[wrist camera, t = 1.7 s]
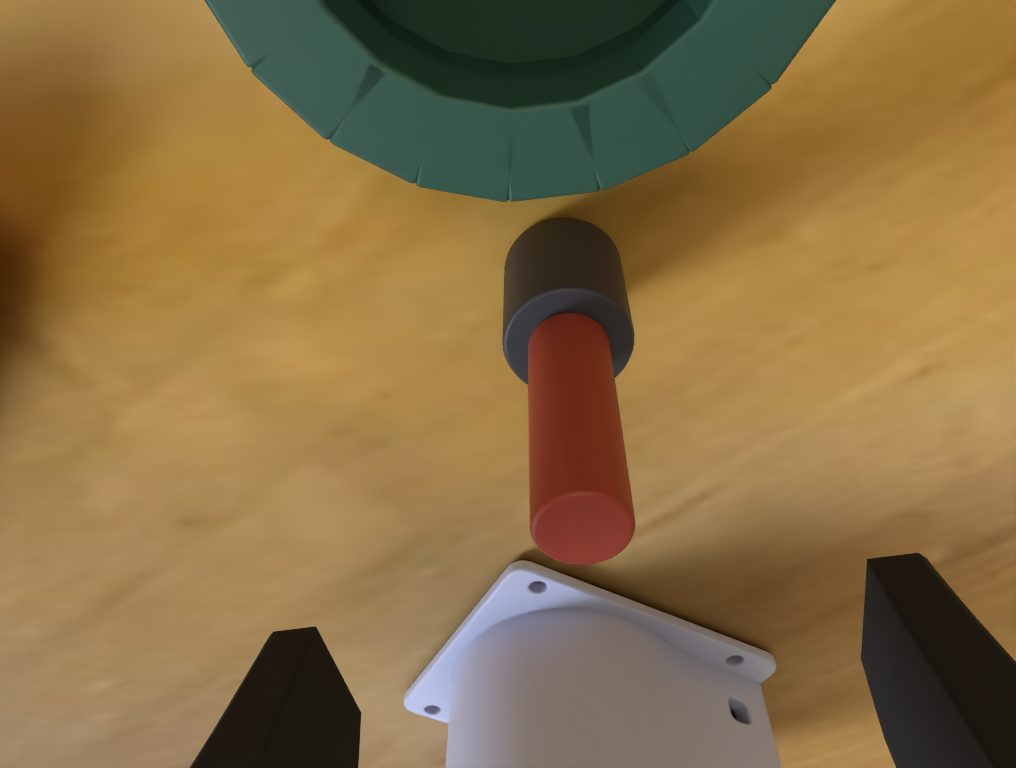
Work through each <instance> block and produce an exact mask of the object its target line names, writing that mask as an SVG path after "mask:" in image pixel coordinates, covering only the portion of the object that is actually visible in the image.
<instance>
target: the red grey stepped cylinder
mask: <svg viewBox="0 0 1016 768" xmlns="http://www.w3.org/2000/svg"><path fill="white" fill-rule="evenodd" d="M633 346H634V330H633V324H632V319H631V314H630V308H629V303H628V298H627V292H626V287H625V282H624V276H623V271H622V265H621V260H620V256H619V253H618V250H617V248H616V246H615V244H614V243H613V241H612V240H611V239H610V238H609V237H608V236H607V234H606V233H604V232H603V231H602V230H601V229H599V228H597V227H596V226H594V225H592V224H590V223H587V222H585V221H581V220H577V219H570V218H560V219H552V220H547V221H544V222H541V223H539V224H537V225H535V226H533V227H531V228H530V229H528V230H527V231H525V232H524V233H523V234H522V235H521V236H520V237H519V238H518V239H517V240H516V241H515V242H514V244H513V245H512V247H511V249H510V251H509V253H508V255H507V258H506V262H505V274H504V309H503V351H504V355H505V358H506V360H507V362H508V364H509V366H510V367H511V369H512V370H513V371H514V373H515V374H516V375H517V376H518V377H519V378H520V379H521V380H522V381H524V382H525V383H526V384H528V401H529V483H530V532H531V535H532V538H533V540H534V542H535V543H536V545H537V546H538V548H539V549H540V550H541V551H542V552H543V553H545V554H546V555H547V556H549V557H551V558H553V559H555V560H557V561H560V562H564V563H568V564H578V565H584V564H594V563H598V562H602V561H605V560H607V559H610V558H612V557H614V556H615V555H617V554H618V553H620V552H621V551H622V550H623V549H624V548H625V547H626V546H627V545H628V544H629V542H630V540H631V538H632V536H633V534H634V530H635V517H634V510H633V503H632V496H631V489H630V482H629V475H628V468H627V461H626V454H625V447H624V440H623V433H622V426H621V419H620V412H619V406H618V399H617V392H616V385H615V377H616V376H617V375H618V374H619V373H620V372H621V371H622V370H623V368H624V367H625V366H626V364H627V362H628V360H629V358H630V356H631V354H632V351H633Z"/></svg>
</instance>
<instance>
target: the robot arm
mask: <svg viewBox="0 0 1016 768" xmlns="http://www.w3.org/2000/svg"><path fill="white" fill-rule="evenodd" d="M536 581H541V582H539V583H537V582H536ZM861 660H862V664H863V667H864V671H865V674H866V678H867V681H868V685H869V688H870V691H871V695H872V698H873V702H874V705H875V709H876V712H877V715H878V718H879V722H880V725H881V728H882V732H883V735H884V738H885V741H886V743H887V746H888V748H889V751H890V753H891V756H892V758H893V760H894V763H895V765H896V768H1016V661H1015V660H1014V659H1013V658H1012V657H1011V656H1010V655H1009V654H1008V653H1007V652H1006V651H1005V649H1004V648H1003V647H1002V646H1001V645H1000V644H999V643H998V642H997V641H996V639H995V638H994V637H993V636H992V635H991V634H990V633H989V632H988V631H987V629H986V628H985V627H984V626H983V625H982V624H981V623H980V622H979V620H978V619H977V618H976V617H975V616H974V615H973V614H972V612H971V611H970V610H969V609H968V608H967V607H966V605H965V604H964V603H963V602H962V601H961V600H960V598H959V597H958V596H957V595H956V594H955V592H954V591H953V590H952V589H951V588H950V586H949V585H948V584H947V583H946V582H945V580H944V579H943V578H942V577H941V576H940V574H939V573H938V572H937V571H936V569H935V568H934V567H933V566H932V564H931V563H930V562H929V561H928V559H927V558H925V557H924V556H922V555H921V554H919V553H913V554H905V555H896V556H888V557H880V558H872V559H867V570H866V586H865V602H864V619H863V635H862V651H861ZM775 671H776V663H775V659H774V657H773V655H772V654H770V653H769V652H766V651H764V650H761V649H758V648H756V647H753V646H751V645H748V644H745V643H743V642H740V641H738V640H735V639H732V638H730V637H727V636H724V635H722V634H719V633H717V632H714V631H711V630H709V629H706V628H703V627H701V626H698V625H696V624H693V623H690V622H688V621H685V620H682V619H680V618H677V617H675V616H672V615H669V614H667V613H664V612H661V611H659V610H656V609H654V608H651V607H648V606H646V605H643V604H640V603H638V602H635V601H633V600H630V599H627V598H625V597H622V596H619V595H617V594H614V593H612V592H609V591H606V590H604V589H601V588H598V587H596V586H593V585H591V584H588V583H585V582H583V581H580V580H578V579H575V578H572V577H570V576H567V575H564V574H562V573H559V572H557V571H554V570H551V569H549V568H546V567H543V566H541V565H538V564H536V563H533V562H530V561H525V560H522V561H516V562H513V563H511V564H510V565H509V566H508V567H507V568H506V569H505V570H504V572H503V573H502V574H501V575H500V577H499V578H498V579H497V580H496V581H495V583H494V584H493V585H492V586H491V588H490V589H489V590H488V591H487V593H486V594H485V595H484V596H483V597H482V599H481V600H480V601H479V602H478V604H477V605H476V606H475V607H474V609H473V610H472V611H471V612H470V613H469V615H468V616H467V617H466V618H465V620H464V621H463V622H462V623H461V625H460V626H459V627H458V628H457V630H456V631H455V632H454V633H453V634H452V636H451V637H450V638H449V639H448V641H447V642H446V643H445V644H444V646H443V647H442V648H441V649H440V650H439V652H438V653H437V654H436V655H435V657H434V658H433V659H432V660H431V662H430V663H429V664H428V665H427V667H426V668H425V669H424V670H423V671H422V673H421V674H420V675H419V676H418V678H417V679H416V680H415V681H414V683H413V684H412V685H411V686H410V687H409V689H408V690H407V691H406V693H405V696H404V706H405V707H406V708H407V709H408V710H409V711H411V712H413V713H416V714H419V715H423V716H426V717H429V718H432V719H435V720H439V721H442V722H445V723H448V724H449V728H448V742H447V756H446V768H781V764H780V760H779V756H778V752H777V748H776V744H775V740H774V736H773V732H772V728H771V724H770V720H769V716H768V712H767V708H766V704H765V700H764V696H763V692H762V688H761V683H762V682H764V681H765V680H766V679H767V678H768V677H770V676H771V675H772V674H773V673H774V672H775ZM360 724H361V712H360V710H359V708H358V706H357V704H356V702H355V700H354V698H353V696H352V695H351V693H350V691H349V689H348V687H347V685H346V683H345V681H344V679H343V677H342V675H341V674H340V672H339V670H338V668H337V666H336V664H335V662H334V660H333V658H332V656H331V655H330V653H329V651H328V649H327V647H326V645H325V643H324V641H323V639H322V637H321V635H320V634H319V632H318V630H317V628H316V627H308V628H300V629H292V630H284V631H276V632H273V633H272V634H271V635H270V637H269V638H268V640H267V641H266V643H265V645H264V646H263V648H262V650H261V651H260V653H259V655H258V656H257V658H256V660H255V661H254V663H253V665H252V666H251V668H250V670H249V672H248V673H247V675H246V677H245V678H244V680H243V682H242V683H241V685H240V687H239V688H238V690H237V692H236V694H235V695H234V697H233V699H232V700H231V702H230V704H229V705H228V707H227V709H226V710H225V712H224V714H223V715H222V717H221V718H220V720H219V722H218V723H217V725H216V727H215V728H214V730H213V732H212V733H211V735H210V737H209V738H208V740H207V741H206V743H205V745H204V746H203V748H202V749H201V751H200V752H199V754H198V756H197V757H196V759H195V760H194V762H193V763H192V765H191V767H190V768H358V761H359V744H360Z"/></svg>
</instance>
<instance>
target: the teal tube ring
mask: <svg viewBox="0 0 1016 768" xmlns="http://www.w3.org/2000/svg"><path fill="white" fill-rule="evenodd" d="M835 1H836V0H205V2H206V3H207V5H208V6H209V8H210V9H211V11H212V13H213V14H214V16H215V17H216V19H217V20H218V22H219V24H220V25H221V27H222V28H223V30H224V31H225V33H226V34H227V36H228V38H229V39H230V41H231V42H232V44H233V45H234V47H235V48H236V50H237V52H238V53H239V55H240V56H241V58H242V59H243V61H244V63H245V64H246V65H247V66H248V67H252V73H253V74H254V75H255V76H256V77H257V78H258V79H259V80H260V81H261V82H262V83H263V84H265V85H266V86H267V87H268V88H269V89H270V90H271V91H272V92H273V93H275V94H276V95H277V96H278V97H279V98H280V99H281V100H282V101H283V102H284V103H286V104H287V105H288V106H289V107H290V108H291V109H292V110H293V111H294V112H295V113H297V114H298V115H299V116H300V117H301V118H302V119H303V120H304V121H305V122H306V123H308V124H309V125H310V126H311V127H312V128H313V129H314V130H315V131H316V132H317V133H319V134H320V135H321V136H322V137H323V138H324V139H326V140H328V139H330V141H331V143H333V144H334V145H335V146H337V147H339V148H342V149H344V150H346V151H348V152H350V153H352V154H354V155H356V156H358V157H360V158H362V159H364V160H366V161H368V162H370V163H372V164H374V165H376V166H378V167H380V168H382V169H384V170H386V171H388V172H390V173H392V174H394V175H396V176H398V177H400V178H402V179H404V180H406V181H408V182H410V183H415V182H416V184H417V186H419V187H423V188H428V189H434V190H440V191H445V192H451V193H457V194H462V195H468V196H473V197H479V198H485V199H490V200H496V201H502V202H507V201H508V199H509V200H510V201H521V200H529V199H538V198H547V197H555V196H564V195H573V194H581V193H590V192H596V191H599V189H601V190H606V189H609V188H611V187H613V186H616V185H618V184H620V183H623V182H625V181H627V180H630V179H632V178H635V177H637V176H639V175H642V174H644V173H646V172H649V171H651V170H653V169H656V168H658V167H660V166H663V165H665V164H667V163H670V162H672V161H675V160H677V159H679V158H682V157H684V156H686V155H688V154H689V151H691V152H693V151H695V150H696V149H697V148H699V147H700V146H701V145H702V144H704V143H705V142H706V141H707V140H709V139H710V138H711V137H712V136H714V135H715V134H716V133H717V132H718V131H720V130H721V129H722V128H723V127H725V126H726V125H727V124H728V123H730V122H731V121H732V120H733V119H735V118H736V117H737V116H738V115H740V114H741V113H742V112H743V111H745V110H746V109H747V108H748V107H750V106H751V105H752V104H753V103H755V102H756V101H757V100H758V99H759V98H761V97H762V96H763V95H764V94H766V93H767V92H768V91H769V90H770V89H771V87H772V86H771V84H774V83H776V82H777V81H778V79H779V78H780V76H781V75H782V74H783V72H784V71H785V70H786V68H787V67H788V65H789V64H790V63H791V61H792V60H793V59H794V57H795V56H796V54H797V53H798V52H799V50H800V49H801V48H802V46H803V45H804V43H805V42H806V41H807V39H808V38H809V37H810V35H811V34H812V32H813V31H814V30H815V28H816V27H817V26H818V24H819V23H820V21H821V20H822V19H823V17H824V16H825V14H826V13H827V12H828V10H829V9H830V8H831V6H832V5H833V3H834V2H835Z"/></svg>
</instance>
